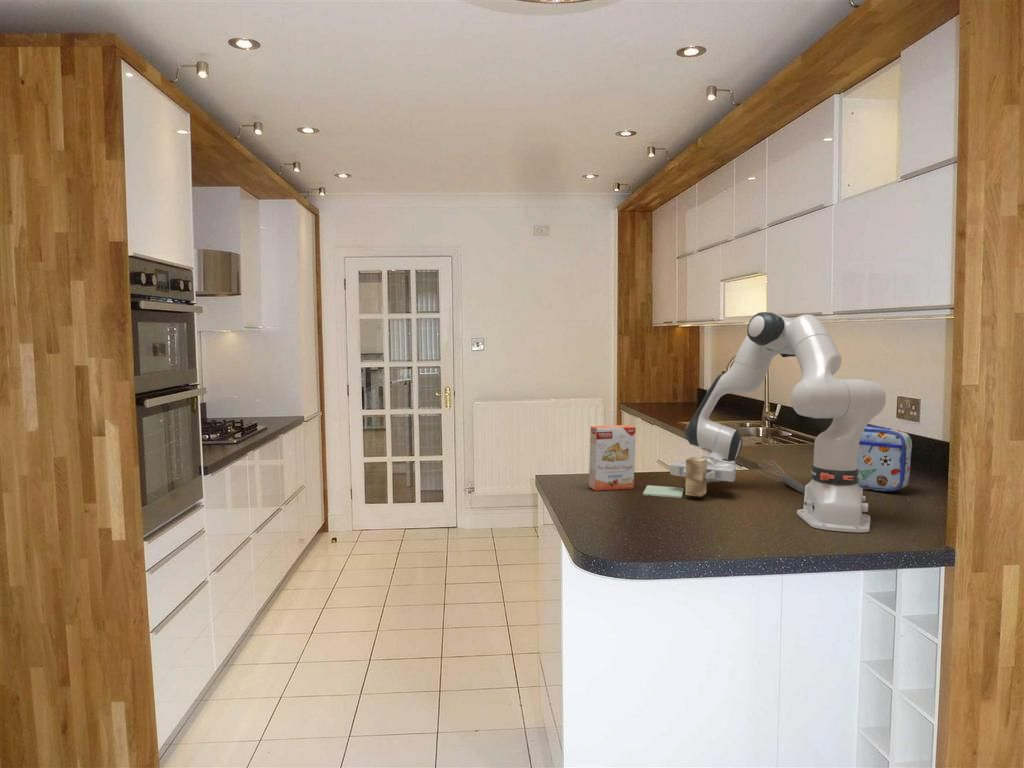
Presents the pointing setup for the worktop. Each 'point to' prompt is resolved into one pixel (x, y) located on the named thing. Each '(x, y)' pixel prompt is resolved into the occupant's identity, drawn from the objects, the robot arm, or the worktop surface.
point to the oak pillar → (695, 476)
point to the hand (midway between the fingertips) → (695, 475)
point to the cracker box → (612, 457)
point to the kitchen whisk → (787, 480)
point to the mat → (663, 491)
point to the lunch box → (884, 459)
